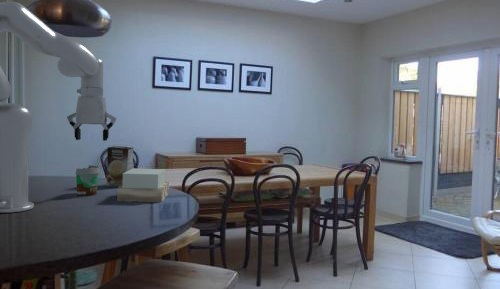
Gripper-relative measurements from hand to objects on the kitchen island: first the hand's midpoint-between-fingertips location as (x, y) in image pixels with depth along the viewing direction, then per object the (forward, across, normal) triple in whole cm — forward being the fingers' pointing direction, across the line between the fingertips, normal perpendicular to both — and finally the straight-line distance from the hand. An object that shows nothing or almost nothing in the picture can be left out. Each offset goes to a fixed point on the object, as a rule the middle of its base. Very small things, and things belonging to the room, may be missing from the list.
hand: (91, 140), depth 160 cm
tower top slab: (+16, +20, -3) cm, 26 cm away
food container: (+20, 0, 0) cm, 20 cm away
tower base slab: (+20, +20, -3) cm, 29 cm away
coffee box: (+20, +5, +22) cm, 30 cm away
